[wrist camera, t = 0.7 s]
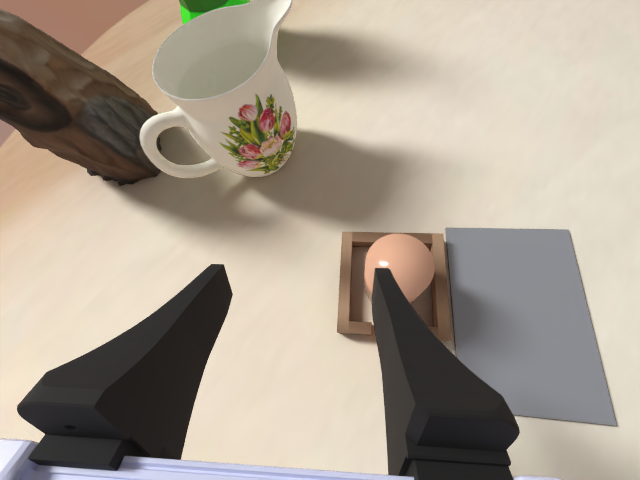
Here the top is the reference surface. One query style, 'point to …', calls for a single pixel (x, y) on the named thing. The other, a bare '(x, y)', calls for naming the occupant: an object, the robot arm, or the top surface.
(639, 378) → the top surface
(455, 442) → the robot arm
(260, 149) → the pitcher
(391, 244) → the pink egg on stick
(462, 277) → the mat
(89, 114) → the owl
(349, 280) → the holder
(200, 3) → the plastic bottle
